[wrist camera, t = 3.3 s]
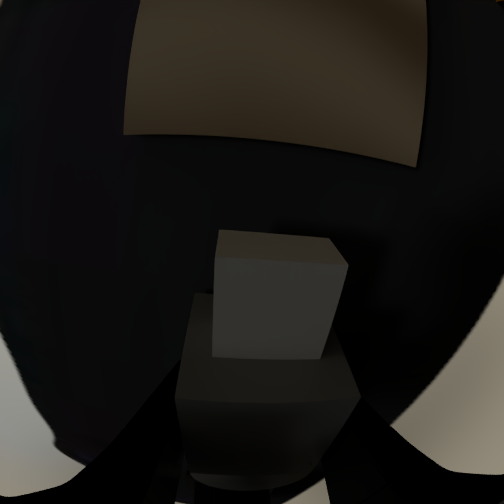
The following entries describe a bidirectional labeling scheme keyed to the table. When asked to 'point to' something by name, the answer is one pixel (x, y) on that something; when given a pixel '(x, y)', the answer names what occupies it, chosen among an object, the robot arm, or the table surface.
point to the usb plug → (264, 363)
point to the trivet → (283, 72)
